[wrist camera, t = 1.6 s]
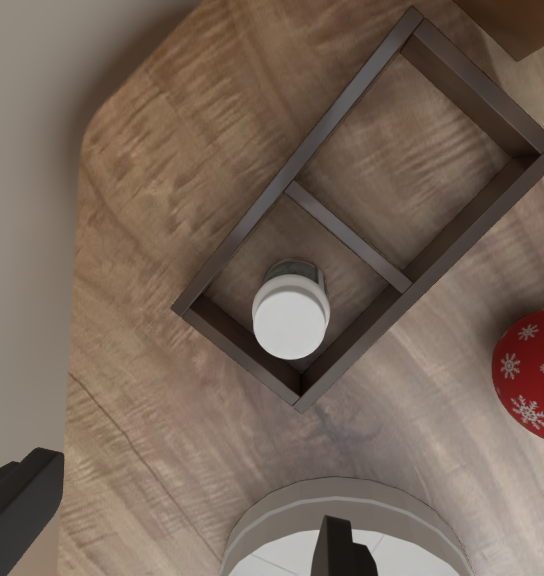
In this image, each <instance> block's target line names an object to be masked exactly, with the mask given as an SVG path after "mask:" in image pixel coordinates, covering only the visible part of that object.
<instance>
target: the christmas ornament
mask: <svg viewBox="0 0 544 576" xmlns="http://www.w3.org/2000/svg"><path fill="white" fill-rule="evenodd" d="M492 379H493V383H494V387H495V390H496V392H497V395H498V397H499V399H500V400H501V402H502V404H503V405H504V407H505V408H506V409H507V411H508V412H509V413H510V414H511V416H512V417H513V418H514V419H515V420H516V421H517V422H519V423H520V424H521V425H522V426H523V427H525V428H526V429H528V430H529V431H530V432H532V433H534V434H535V435H537V436H539V437H541V438H543V439H544V309H542V310H539V311H536V312H533V313H531V314H529V315H527V316H525V317H523V318H521V319H520V320H518V321H517V322H515V323H514V324H513V325H512V326H511V327H509V328H508V330H507V331H506V332H505V333H504V334H503V335H502V337H501V338H500V340H499V342H498V344H497V346H496V348H495V351H494V354H493V359H492Z"/></svg>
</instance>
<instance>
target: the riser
mask: <svg viewBox="0 0 544 576" xmlns="http://www.w3.org/2000/svg"><path fill="white" fill-rule="evenodd" d="M454 1H455V2H456V3H457V4H458V5H459V6H460V7H461V8H462V9H463V10H464V11H465V12H466V13H467V14H468V15H469V16H471V17H472V18H473V19H474V20H475V21H476V22H477V23H478V24H479V25H480V26H481V27H482V28H483V29H484V30H485V31H486V32H487V33H488V34H489V35H490V36H491V37H492V38H493V39H494V40H496V41H497V42H498V43H499V44H500V45H501V46H502V47H503V48H504V49H505V50H506V51H507V52H508V53H509V54H510V55H511V56H512V57H513V58H514V59H515V60H516V61H520V60H522V59H523V58H525V57H527V56H528V55H530V54H532V53H533V52H535V51H537V50H538V49H540V48H542V47H543V46H544V0H454Z"/></svg>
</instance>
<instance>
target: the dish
mask: <svg viewBox="0 0 544 576" xmlns="http://www.w3.org/2000/svg"><path fill="white" fill-rule="evenodd" d="M324 515H328V516H333V517H337V518H341V519H346V520H349V521H350V522H351V528H352V537H353V542H354V543H359V544H363V545H366V546H367V547H368V549H369V551H370V553H371V555H372V557H373V558H374V560H375V562H376V564H377V571H378V576H474V573H473V571H472V568H471V566H470V563H469V561H468V558H467V556H466V554H465V552H464V550H463V548H462V546H461V544H460V543H459V541H458V539H457V537H456V535H455V533H454V531H453V530H452V529H451V528H450V527H449V526H448V525H447V524H446V523H445V522H444V521H443V520H442V519H441V518H440V516H439V515H438V514H437V513H436V512H435V511H434V510H433V509H432V508H430V507H429V506H427V505H426V504H424V503H422V502H421V501H419V500H417V499H416V498H414V497H412V496H411V495H409V494H407V493H406V492H404V491H402V490H399V489H396V488H393V487H390V486H387V485H383V484H380V483H377V482H374V481H371V480H364V479H353V478H342V477H328V478H321V479H313V480H305V481H300V482H297V483H294V484H292V485H289V486H287V487H284V488H281V489H279V490H276V491H274V492H271V493H270V494H268V495H267V496H266V497H264V498H263V499H262V500H260V501H259V502H257V503H256V504H255V505H253V506H252V507H251V508H249V509H248V510H247V511H246V512H245V514H244V515H243V516H242V518H241V519H240V520H239V522H238V523H237V524H236V526H235V527H234V528H233V530H232V531H231V534H230V537H229V540H228V543H227V546H226V549H225V552H224V555H223V560H222V564H221V568H220V571H219V574H218V576H310V575H311V565H312V559H313V554H314V550H315V547H316V543H317V539H318V535H319V532H320V528H321V524H322V521H323V518H324Z"/></svg>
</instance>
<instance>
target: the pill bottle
mask: <svg viewBox="0 0 544 576" xmlns="http://www.w3.org/2000/svg"><path fill="white" fill-rule="evenodd" d="M252 316H253V328H254V333H255V336H256V338H257V340H258V342H259V344H260V345H261V346H262V347H263V348H264V349H265V350H266V351H267V352H268V353H270V354H272V355H274V356H276V357H278V358H282V359H299V358H302V357H305V356H307V355H309V354H311V353H312V352H313V351H314V350H316V349H317V347H318V346H319V345H320V343H321V342H322V340H323V338H324V334H325V330H326V328H327V326H328V323H329V318H330V304H329V298H328V291H327V283H326V279H325V277H324V275H323V273H322V271H321V270H320V269H319V268H318V267H317V266H316V265H315V264H314V263H312V262H311V261H309V260H306V259H303V258H298V257H292V258H286V259H283V260H281V261H279V262H277V263H276V264H274V265H273V266H272V267H271V268H270V269H269V271H268V272H267V274H266V275H265V278H264V280H263V282H262V284H261V286H260V288H259V290H258V292H257V294H256V296H255V298H254V302H253V306H252Z"/></svg>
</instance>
